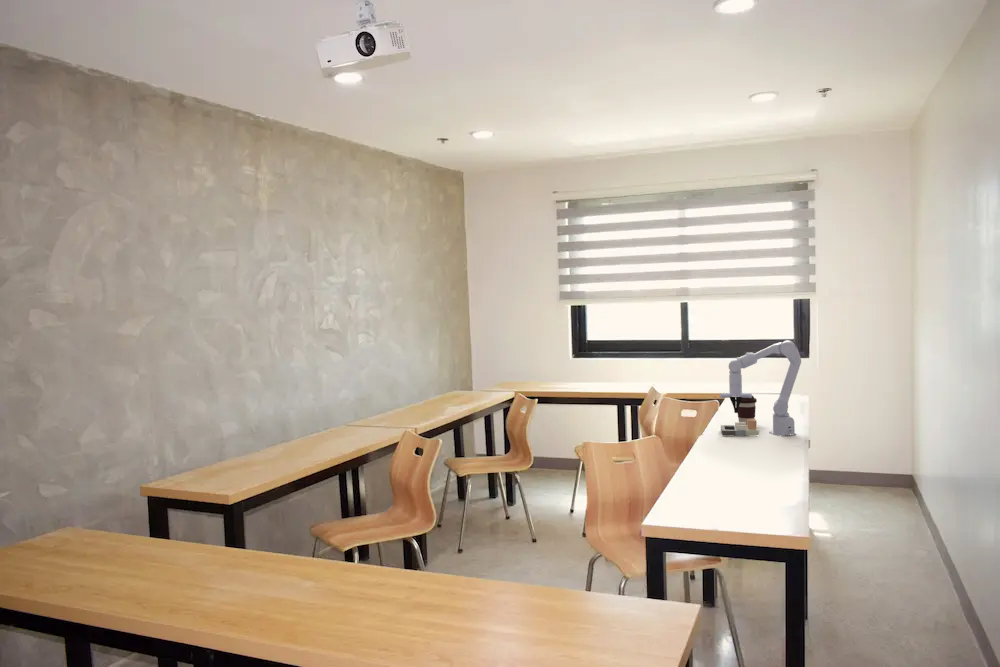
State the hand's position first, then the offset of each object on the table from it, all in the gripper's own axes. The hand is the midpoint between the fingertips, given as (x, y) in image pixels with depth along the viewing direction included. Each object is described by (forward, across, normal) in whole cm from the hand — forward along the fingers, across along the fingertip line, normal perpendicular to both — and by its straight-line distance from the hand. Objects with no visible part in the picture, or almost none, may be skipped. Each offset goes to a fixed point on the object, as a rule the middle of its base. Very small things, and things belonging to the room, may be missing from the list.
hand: (736, 412), depth 355 cm
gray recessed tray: (+9, -2, -3) cm, 10 cm away
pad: (+9, +6, -3) cm, 12 cm away
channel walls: (+7, +2, -3) cm, 8 cm away
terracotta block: (+7, +7, -3) cm, 10 cm away
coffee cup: (+10, +6, +16) cm, 20 cm away
